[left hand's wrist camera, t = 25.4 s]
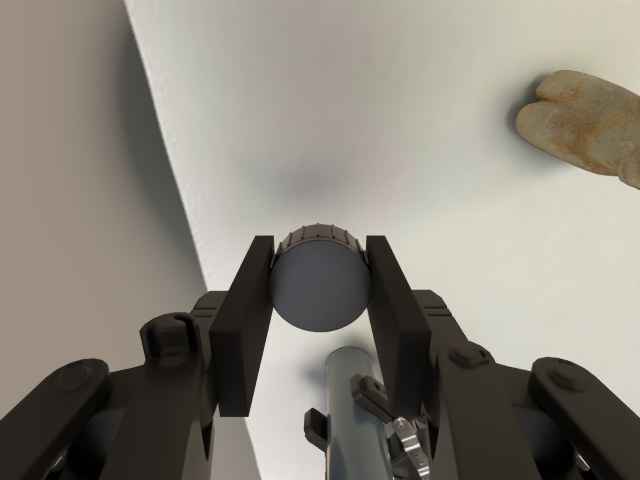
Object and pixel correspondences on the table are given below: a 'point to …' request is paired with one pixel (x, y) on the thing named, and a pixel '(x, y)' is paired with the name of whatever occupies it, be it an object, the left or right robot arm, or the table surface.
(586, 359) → the table surface
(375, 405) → the right robot arm
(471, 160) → the table surface
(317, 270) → the cap
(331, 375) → the bottle
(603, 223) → the table surface
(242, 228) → the table surface
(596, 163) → the sculpture
